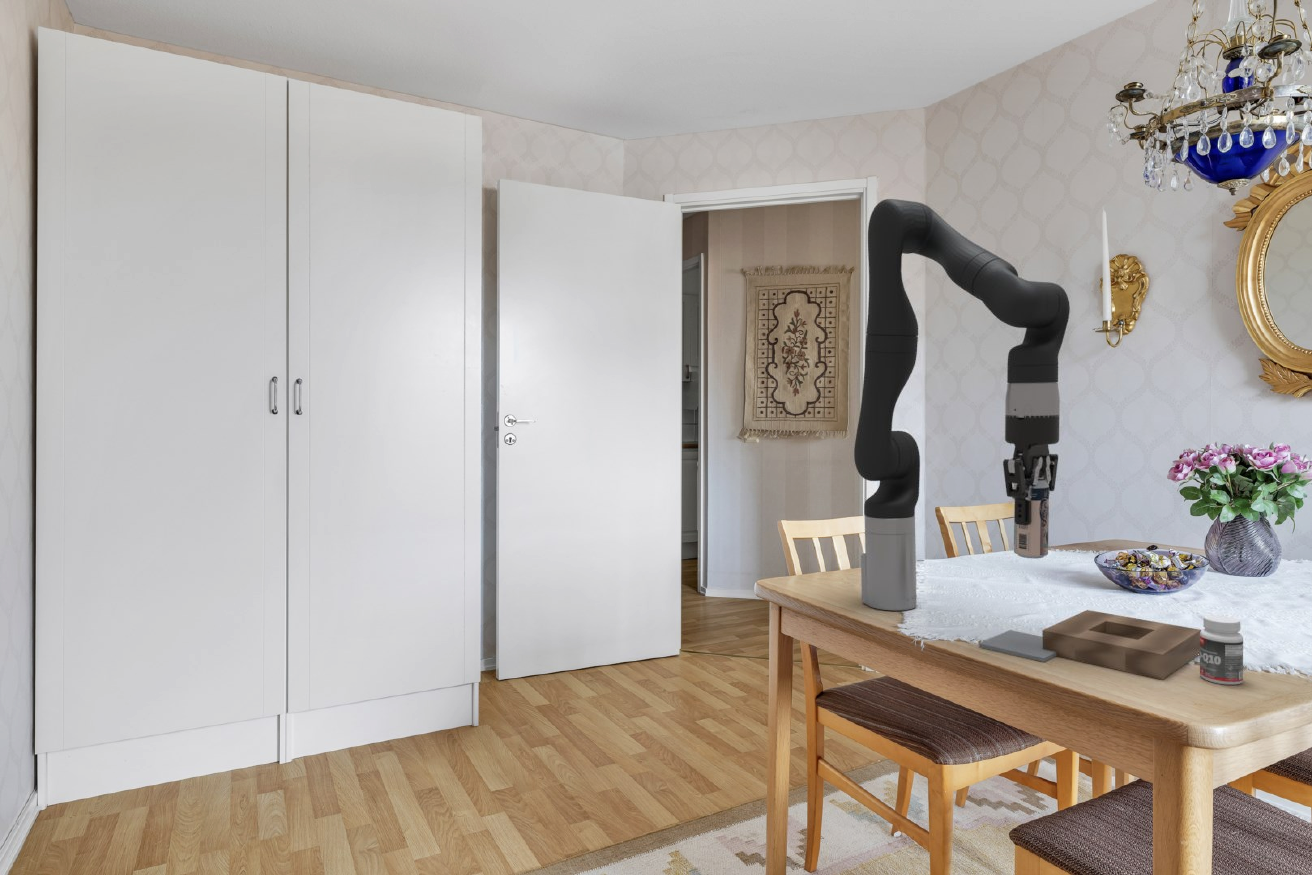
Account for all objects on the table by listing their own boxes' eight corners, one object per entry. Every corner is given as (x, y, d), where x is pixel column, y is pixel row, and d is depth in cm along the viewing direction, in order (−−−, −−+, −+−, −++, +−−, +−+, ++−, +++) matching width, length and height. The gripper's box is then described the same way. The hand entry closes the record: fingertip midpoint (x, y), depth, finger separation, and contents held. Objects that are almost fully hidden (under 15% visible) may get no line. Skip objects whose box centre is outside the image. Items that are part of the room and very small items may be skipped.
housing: (1042, 652, 117) (1042, 630, 117) (1087, 630, 127) (1087, 609, 127) (1162, 679, 105) (1162, 654, 105) (1201, 652, 115) (1201, 629, 115)
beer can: (1052, 559, 117) (1053, 481, 116) (1018, 559, 118) (1019, 481, 117) (1042, 553, 122) (1043, 477, 121) (1010, 552, 123) (1011, 477, 122)
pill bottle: (1191, 674, 106) (1191, 614, 106) (1223, 672, 107) (1222, 612, 106) (1219, 686, 102) (1218, 624, 101) (1252, 684, 102) (1252, 622, 102)
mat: (979, 647, 121) (979, 643, 121) (1010, 633, 127) (1010, 629, 127) (1044, 662, 113) (1044, 658, 113) (1073, 646, 119) (1073, 643, 119)
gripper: (1028, 410, 126) (1027, 514, 127) (985, 414, 117) (984, 525, 118) (1077, 411, 120) (1075, 519, 121) (1036, 414, 111) (1034, 531, 112)
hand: (1030, 521), depth 119 cm, fingers closed on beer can, 4 cm apart
